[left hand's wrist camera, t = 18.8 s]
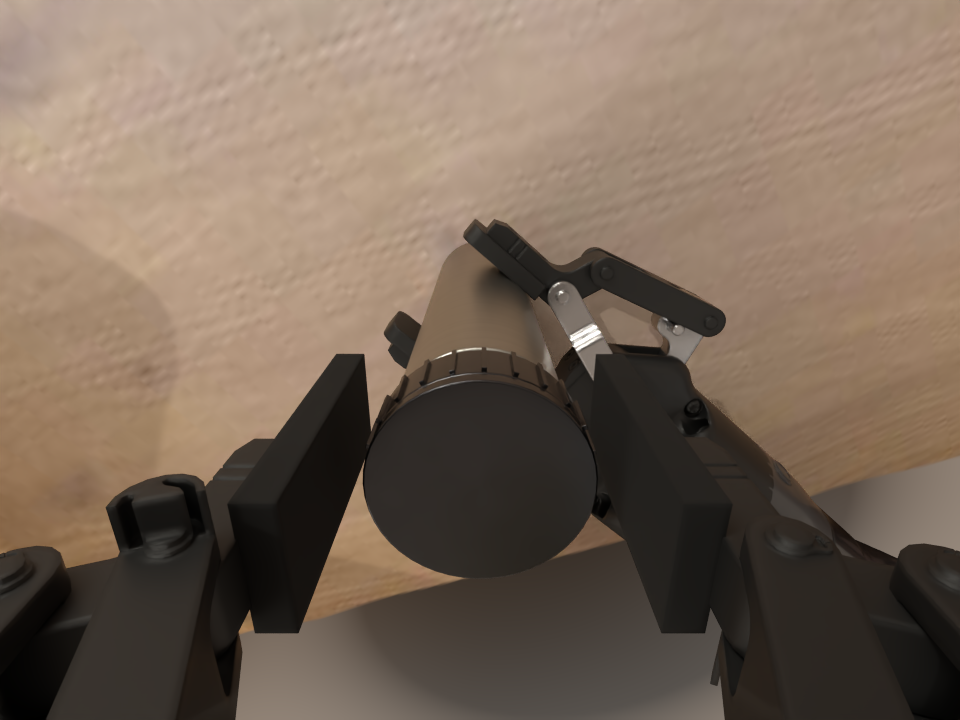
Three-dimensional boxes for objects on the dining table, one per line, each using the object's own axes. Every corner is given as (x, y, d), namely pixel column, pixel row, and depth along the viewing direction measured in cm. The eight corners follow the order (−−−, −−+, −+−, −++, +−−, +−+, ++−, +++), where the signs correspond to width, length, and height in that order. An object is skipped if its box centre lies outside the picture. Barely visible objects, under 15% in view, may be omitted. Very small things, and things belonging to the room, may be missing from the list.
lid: (493, 561, 13) (495, 615, 12) (334, 457, 12) (312, 502, 11) (629, 432, 12) (652, 473, 10) (463, 301, 11) (461, 325, 9)
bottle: (529, 250, 27) (607, 394, 11) (511, 328, 29) (553, 560, 12) (447, 233, 27) (394, 354, 10) (432, 313, 29) (367, 529, 12)
